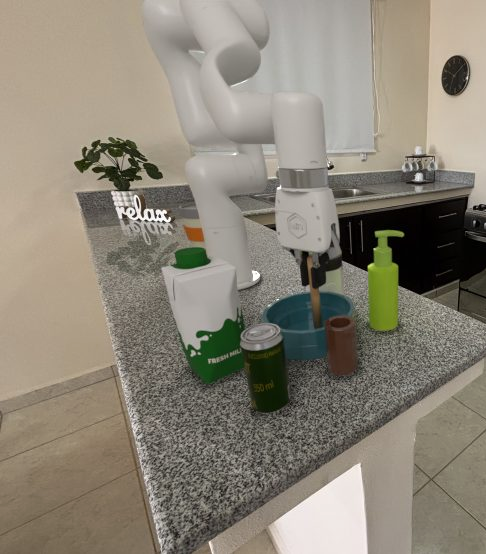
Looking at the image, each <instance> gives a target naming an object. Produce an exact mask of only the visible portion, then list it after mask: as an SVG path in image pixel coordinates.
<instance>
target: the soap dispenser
mask: <svg viewBox="0 0 486 554" xmlns="http://www.w3.org/2000/svg"><path fill="white" fill-rule="evenodd" d="M374 236H375V238H378V239H377V246H376V247H375V248H373V262H371V263H369V264H367V283H368V284H367V288H368V289H367V290H368V292H367V293H368V322H369V324H368V325H369V327H370V328H372V329H373V330H375V331H379V332H380V331H381V332H385V331H391V330H393V329H395V328H397V327H398V325H399V265H398V264H397V263H395V262H393V250H392V248H391V247H390V246H388V237H399V238H403V237H404V236H405V233H404V232H403V231H400V230H393V229H392V230H391V229H385V230H384V229H383V230H376V231H374Z"/></svg>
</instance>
